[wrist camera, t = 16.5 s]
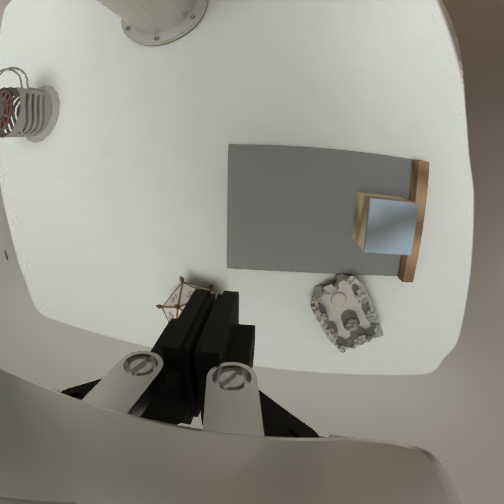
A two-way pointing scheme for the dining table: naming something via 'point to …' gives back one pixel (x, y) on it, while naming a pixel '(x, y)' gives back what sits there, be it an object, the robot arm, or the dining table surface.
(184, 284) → the game die
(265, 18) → the dining table surface
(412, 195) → the rail
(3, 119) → the french press
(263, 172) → the grey rectangular board
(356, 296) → the carved stone fragment
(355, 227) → the block
